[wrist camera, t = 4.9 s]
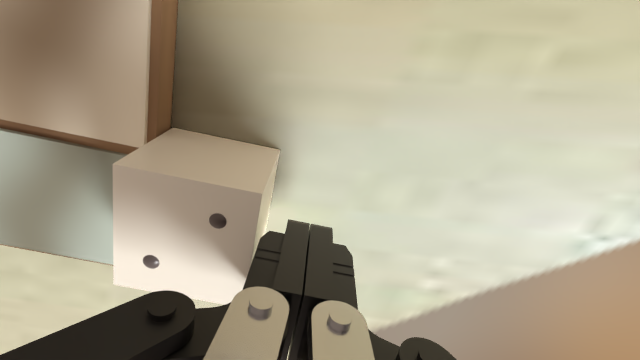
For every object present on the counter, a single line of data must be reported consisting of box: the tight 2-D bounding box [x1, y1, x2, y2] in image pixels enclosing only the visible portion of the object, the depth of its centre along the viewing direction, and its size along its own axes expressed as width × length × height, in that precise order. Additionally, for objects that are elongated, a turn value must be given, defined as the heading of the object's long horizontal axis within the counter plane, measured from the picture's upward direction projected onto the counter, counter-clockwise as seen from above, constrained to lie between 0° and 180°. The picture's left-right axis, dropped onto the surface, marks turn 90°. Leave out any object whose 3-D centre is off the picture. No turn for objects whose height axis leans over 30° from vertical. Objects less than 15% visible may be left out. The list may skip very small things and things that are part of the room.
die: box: [112, 128, 280, 304], centre depth 12 cm, size 4×4×4 cm
